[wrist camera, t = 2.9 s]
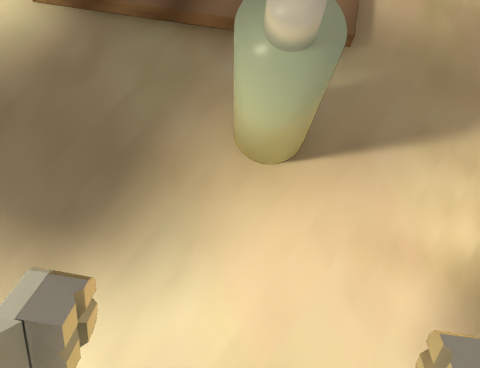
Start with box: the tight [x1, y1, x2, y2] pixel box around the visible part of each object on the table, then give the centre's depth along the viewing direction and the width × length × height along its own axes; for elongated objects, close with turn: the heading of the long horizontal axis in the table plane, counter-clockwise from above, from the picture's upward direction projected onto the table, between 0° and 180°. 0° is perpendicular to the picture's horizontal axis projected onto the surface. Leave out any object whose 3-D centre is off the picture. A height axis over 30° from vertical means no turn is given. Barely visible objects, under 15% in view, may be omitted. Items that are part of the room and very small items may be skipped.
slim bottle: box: [234, 0, 347, 164], centre depth 25 cm, size 5×5×14 cm
